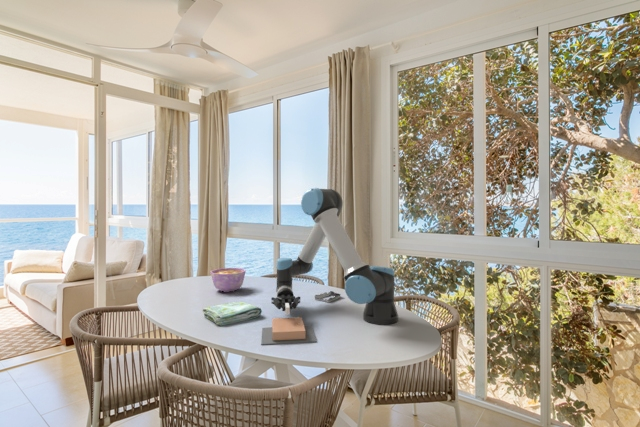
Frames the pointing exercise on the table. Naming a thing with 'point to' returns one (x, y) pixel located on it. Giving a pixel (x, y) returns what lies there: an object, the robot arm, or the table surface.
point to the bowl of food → (228, 278)
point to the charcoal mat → (268, 340)
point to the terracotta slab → (288, 329)
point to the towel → (231, 312)
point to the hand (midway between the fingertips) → (287, 310)
